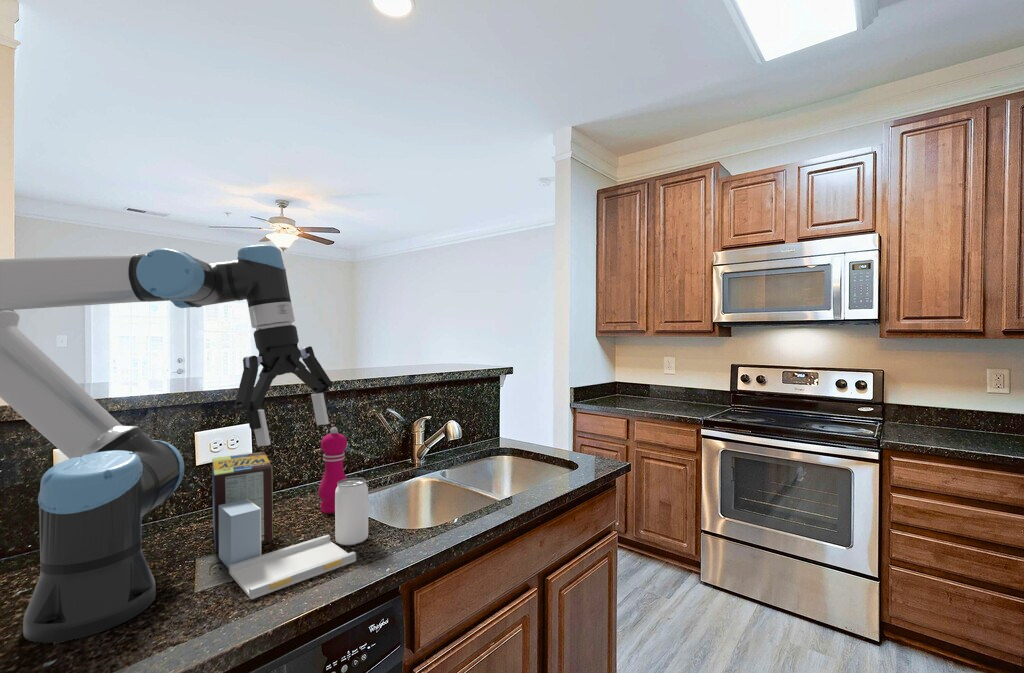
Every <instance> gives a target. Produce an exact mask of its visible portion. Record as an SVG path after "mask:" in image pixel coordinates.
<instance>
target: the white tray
mask: <svg viewBox="0 0 1024 673" xmlns="http://www.w3.org/2000/svg"><path fill="white" fill-rule="evenodd" d="M355 562H357V552H355V551H351V552H347V551H346V550H344V549H343V548H341V547H340V546H339V545H337V544H335V543H333V542H332V541H331V535H329V534H325V535H322V536H320V537H319V536H318V537H316V538H313V539H309V540H307V541H303V542H300V543H297V544H293V545H290V546H287V547H283V548H280V549H278V550H273V551H270V552H268V553H264V554H261V555H260V556H257V557H254V558H251V559H247V560H244V561H241V562H238V563H234V564H231V565H229V568H228V574H229V575H230V576H231V577H232V579H233V580H234V581H235V583H237V585H238V586H239V587H240V589H241V590H242V591H243V592H244V593H245V594H246V596H247V597H248V598H249V599H250V600H254V599H256V598H259V597H261V596H265V595H268V594H270V593H273V592H276V591H278V590H281V589H284V588H287V587H289V586H292V585H295V584H297V583H300V582H303V581H305V580H309V579H311V578H314V577H317V576H319V575H322V574H325V573H327V572H330V571H333V570H336V569H339V568H341V567H344V566H347V565H349V564H352V563H355Z"/></svg>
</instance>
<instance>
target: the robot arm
mask: <svg viewBox="0 0 1024 673" xmlns="http://www.w3.org/2000/svg"><path fill="white" fill-rule="evenodd" d="M285 267H286V266H285V264H284V260H283V255H282V252H281V250H280V249H279V248H278V247H276V246H274V245H270V244H256V245H255V244H253V245H249V246H245V247H241V248H239V249H238V251H237V259H235V260H232V261H223V262H214V263H211V262H210V263H208V262H205V261H204V260H200V259H198V258H197V257H193V256H192V255H190V254H189V253H187V252H186V251H181V250H177V249H170V248H159V249H158V248H157V249H154V250H152V251H149V252H148V253H142V254H138V253H134V254H111V255H110V254H109V255H108V254H105V255H103V254H102V255H84V256H83V255H81V256H77V255H76V256H55V257H54V256H53V257H51V256H50V257H49V256H48V257H46V256H45V257H25V258H24V257H23V258H20V257H19V258H0V399H1V400H3V401H4V402H5V403H6V404H7V405H8V406H9V407H11V408H12V409H13V410H14V411H15V412H16V413H17V414H18V415H19V416H20V417H22V418H23V419H24V420H25V421H26V422H28V424H30V425H31V426H32V428H34V429H35V430H36V431H37V432H39V433H40V434H41V435H42V436H43V437H44V438H45V439H47V440H48V441H49V442H50V443H51V444H52V445H53V446H55V447H56V448H57V449H58V450H59V451H60V452H61V453H62V454H63V455H65V456H66V458H67V459H66V460H64V461H60V462H59V463H57V464H55V465H53V466H51V467H50V468H49V469H48V470H47V471H45V473H43V475H42V477H41V479H40V487H39V492H38V496H37V503H38V506H39V507H38V508H39V557H40V558H39V561H40V562H39V563H40V564H39V565H40V567H39V568H40V571H39V572H40V573H39V577H38V580H37V582H36V586H35V587H34V590H33V593H32V596H31V598H30V600H29V603H28V605H27V608H26V610H25V613H24V615H23V621H22V622H23V624H22V625H23V627H22V631H23V632H22V633H23V634H22V635H23V637H24V639H25V640H27V639H28V640H27V641H29V640H30V641H29V642H31V641H34V642H33V643H36V642H48V643H47V644H55V643H54V642H56V643H62V641H64V642H68V641H69V640H70V641H73V639H75V640H78V638H79V639H82V637H83V638H87V637H90V636H92V635H95V634H99V633H102V632H105V631H107V630H110V629H113V628H115V627H118V626H119V625H121V624H123V623H126V622H128V621H130V620H131V619H133V618H135V617H137V616H138V615H139V614H141V613H143V612H144V611H145V610H147V609H148V608H149V607H150V606H151V605H152V603H153V602H154V601H155V598H156V595H157V594H156V590H157V589H156V588H157V587H156V579H155V577H154V576H153V573H152V570H151V569H150V566H149V564H148V561H147V560H146V558H145V555H144V553H143V549H142V548H143V546H142V545H143V544H142V536H143V535H142V518H143V516H146V515H147V514H148V513H150V512H151V511H152V510H153V509H154V508H156V507H158V506H160V505H162V504H163V503H164V502H165V501H166V500H167V499H169V498H170V497H171V496H172V495H173V494H174V493H175V491H176V490H177V489H178V487H179V486H180V484H181V483H182V481H183V478H184V474H185V461H184V458H183V455H182V454H181V452H180V451H179V450H178V448H177V447H175V446H174V445H172V444H171V443H170V442H167V441H164V440H159V439H152V438H150V436H149V435H148V434H147V433H145V432H144V431H143V430H142V429H141V428H140V426H139V427H138V426H137V425H123V424H122V423H120V422H119V421H118V420H117V419H116V418H115V417H114V416H113V415H111V414H110V412H108V411H107V409H105V408H104V407H103V406H102V405H100V403H99V402H98V401H97V400H95V399H94V398H93V397H92V396H91V395H90V394H89V393H88V392H86V390H84V389H83V388H82V386H81V385H80V384H78V383H77V382H76V381H75V380H74V379H73V378H72V377H70V375H69V374H68V373H66V372H65V371H64V370H63V369H62V368H61V367H60V366H59V365H58V364H57V363H55V361H53V360H52V359H51V358H50V356H48V355H47V354H46V353H45V352H43V350H42V349H40V347H39V346H37V345H36V344H35V343H34V342H33V341H32V340H31V339H29V337H28V336H26V335H25V334H24V333H23V332H22V331H21V330H20V329H19V328H18V325H19V322H20V315H19V314H18V313H17V312H16V311H15V310H33V309H34V310H35V309H47V308H49V309H50V308H63V307H64V308H65V307H77V306H78V307H79V306H80V307H81V306H96V305H97V306H98V305H111V304H112V305H114V304H127V303H129V304H130V303H145V302H146V303H149V302H152V303H154V302H166V301H167V302H168V301H170V302H171V303H172V304H173V305H174V306H175V307H177V308H180V309H185V308H186V309H187V308H198V309H199V308H202V307H204V306H210V305H211V306H212V305H217V304H224V303H230V302H236V301H238V302H239V301H244V300H246V302H247V307H248V314H249V319H250V324H251V328H253V329H255V330H254V332H253V337H254V343H255V348H256V350H258V356H257V355H249V356H245V357H243V359H242V364H243V365H242V366H243V371H242V374H241V378H240V383H239V386H238V387H239V388H238V391H237V394H236V398H235V403H234V406H233V407H234V408H233V410H235V411H236V412H238V411H239V412H243V413H246V416H247V421H248V425H249V429H250V430H253V431H254V436H255V441H256V445H257V447H265V446H266V447H267V446H270V445H271V438H270V434H269V429H268V424H267V420H266V419H267V418H266V414H265V409H260V408H261V405H262V404H263V401H264V399H265V398H266V395H267V394H268V392H269V389H270V386H271V385H272V383H273V380H274V379H275V378H277V376H281V375H285V374H294V376H297V378H298V379H299V380H301V382H303V383H304V385H306V386H307V387H308V388H309V389H311V390H312V391H313V392H314V393H311V394H310V397H311V401H312V402H311V403H312V406H313V412H314V418H315V422H316V425H317V426H320V425H321V426H323V425H324V426H325V425H328V424H329V416H328V412H327V407H328V400H327V392H329V390H330V388H331V387H332V386H333V382H332V380H331V379H330V377H329V375H328V374H327V373H326V372H325V369H324V368H323V367H322V365H321V363H320V361H318V359H317V357H316V356H315V352H314V349H313V346H310V345H309V346H304V347H300V348H299V347H298V343H299V341H300V340H299V335H298V328H297V326H296V325H294V324H293V323H294V322H295V321H296V319H295V315H294V309H293V305H292V298H291V294H290V289H289V283H288V277H287V270H286V268H285ZM300 358H301V359H302V361H303V362H302V361H300ZM260 366H261V367H262V368H261V371H260V372H259V375H258V371H259V367H260ZM257 376H258V377H259V378H258V379H257ZM256 380H257V382H256ZM70 641H69V642H70ZM49 642H51V643H49ZM52 642H53V643H52Z"/></svg>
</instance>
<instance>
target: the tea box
mask: <svg viewBox="0 0 1024 673" xmlns="http://www.w3.org/2000/svg"><path fill="white" fill-rule="evenodd" d="M260 555H262V542H261V508H259V507H258V506H256V505H255V504H254V503H252V502H251V501H250V500H248V499H244V500H240V501H235V502H231V503H226V504H222V505H219V552H218V558H219V559H220V561H221V562H222V563H223V564H224V565H225V566H226V567H227V569H229V565H231V564H234V563H238V562H241V561H244V560H247V559H251V558H254V557H257V556H260Z"/></svg>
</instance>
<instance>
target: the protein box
mask: <svg viewBox="0 0 1024 673" xmlns="http://www.w3.org/2000/svg"><path fill="white" fill-rule="evenodd" d="M211 465H212V466H211V469H212V470H211V472H212V473H211V476H212V479H211V480H212V481H211V482H212V484H211V485H212V487H211V488H212V493H211V494H212V500H211V501H212V528H213V541H214V543H213V544H214V546H213V547H214V553H219V505H222V504H226V503H231V502H235V501H240V500H244V499H248V500H250V501H251V502H252V503H254V504H255V505H256V506H258V507H259V508H261V543H265V542H270V541H273V539H274V526H273V525H274V521H273V520H274V519H273V518H274V515H273V514H274V509H273V507H274V506H273V505H274V502H273V501H274V499H273V496H274V495H273V493H274V491H273V465H272V464H271V462H270V460H269V458H268V457H267V454H266V453H265V451H260V452H251V453H244V454H236V455H227V456H226V455H225V456H221V457H219V456H218V457H213V458H212V464H211Z"/></svg>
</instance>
